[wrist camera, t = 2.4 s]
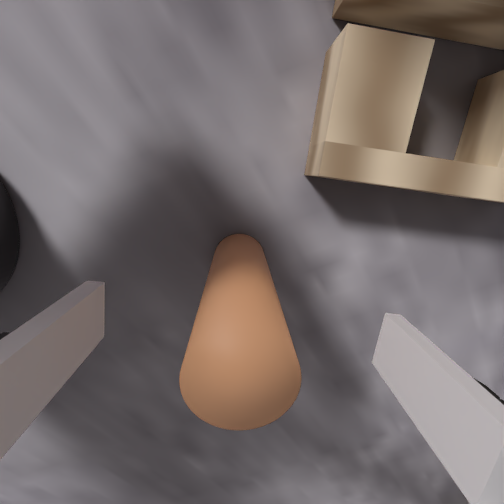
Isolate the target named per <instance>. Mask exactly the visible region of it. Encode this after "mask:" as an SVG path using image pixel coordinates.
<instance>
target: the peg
mask: <svg viewBox="0 0 504 504" xmlns="http://www.w3.org/2000/svg"><path fill="white" fill-rule="evenodd" d="M179 384H180V390H181V394H182V397H183V399H184V401H185V403H186V404H187V406H188V407H189V409H190V410H191V411H192V412H193V413H194V414H195V415H196V416H198V417H199V418H200V419H202V420H203V421H205V422H207V423H209V424H211V425H213V426H216V427H219V428H223V429H228V430H250V429H255V428H259V427H262V426H265V425H267V424H269V423H271V422H273V421H275V420H277V419H278V418H279V417H281V416H282V415H283V414H284V413H285V412H287V411H288V409H289V408H290V407H291V406H292V405H293V403H294V401H295V400H296V398H297V396H298V393H299V390H300V387H301V369H300V365H299V361H298V358H297V355H296V352H295V349H294V346H293V343H292V339H291V336H290V333H289V330H288V327H287V324H286V321H285V317H284V314H283V311H282V308H281V305H280V302H279V299H278V295H277V292H276V289H275V286H274V283H273V280H272V277H271V273H270V270H269V267H268V264H267V261H266V258H265V255H264V251H263V249H262V247H261V245H260V244H259V242H258V241H257V240H256V239H254V238H253V237H251V236H249V235H245V234H233V235H230V236H228V237H226V238H224V239H223V240H222V241H221V242H220V243H219V244H218V246H217V248H216V250H215V253H214V257H213V260H212V263H211V267H210V270H209V274H208V277H207V281H206V284H205V287H204V291H203V294H202V298H201V301H200V305H199V308H198V312H197V315H196V318H195V322H194V325H193V329H192V332H191V336H190V339H189V342H188V346H187V349H186V353H185V356H184V360H183V363H182V366H181V370H180V376H179Z"/></svg>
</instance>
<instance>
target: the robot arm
mask: <svg viewBox="0 0 504 504" xmlns="http://www.w3.org/2000/svg"><path fill="white" fill-rule="evenodd" d="M18 253H19V228H18V222H17V218H16V214H15V211H14V208H13V205H12V202H11V200H10V198H9V195H8V193H7V191H6V189H5V188H4V186H3V184H2V182H1V181H0V291H1V290H2V289H3V287H4V286H5V285H6V283H7V282H8V280H9V279H10V277H11V275H12V273H13V271H14V268H15V265H16V262H17V258H18ZM104 337H105V282H99V281H89V280H87V281H85V282H84V283H82V284H81V285H80V286H78V287H77V288H75V289H74V290H72V291H71V292H69V293H68V294H66V295H65V296H64V297H62V298H61V299H59V300H58V301H56V302H55V303H53V304H52V305H50V306H49V307H47V308H46V309H45V310H43V311H42V312H40V313H39V314H37V315H36V316H34V317H33V318H31V319H30V320H28V321H27V322H26V323H24V324H23V325H21V326H20V327H18V328H17V329H15V330H14V331H12V332H11V333H6V332H4V333H2V334H0V460H1V459H2V457H3V456H4V455H5V454H6V453H7V451H8V450H9V449H10V448H11V447H12V446H13V444H14V443H15V442H16V441H17V440H18V438H19V437H20V436H21V435H22V434H23V433H24V431H25V430H26V429H27V428H28V427H29V425H30V424H31V423H32V422H33V421H34V420H35V418H36V417H37V416H38V415H39V414H40V412H41V411H42V410H43V409H44V408H45V406H46V405H47V404H48V403H49V402H50V401H51V399H52V398H53V397H54V396H55V395H56V393H57V392H58V391H59V390H60V389H61V388H62V386H63V385H64V384H65V383H66V382H67V380H68V379H69V378H70V377H71V376H72V375H73V373H74V372H75V371H76V370H77V369H78V367H79V366H80V365H81V364H82V363H83V361H84V360H85V359H86V358H87V357H88V356H89V354H90V353H91V352H92V351H93V350H94V348H95V347H96V346H97V345H98V344H99V343H100V341H101V340H102V339H103V338H104ZM372 364H373V365H374V366H375V368H376V369H377V371H378V372H379V374H380V375H381V377H382V378H383V379H384V381H385V382H386V384H387V385H388V387H389V388H390V389H391V391H392V392H393V394H394V395H395V397H396V398H397V400H398V401H399V402H400V404H401V405H402V407H403V408H404V410H405V411H406V412H407V414H408V415H409V417H410V418H411V420H412V421H413V423H414V424H415V425H416V427H417V428H418V430H419V431H420V433H421V434H422V435H423V437H424V438H425V440H426V441H427V443H428V444H429V446H430V447H431V448H432V450H433V451H434V453H435V454H436V456H437V457H438V458H439V460H440V461H441V463H442V464H443V466H444V467H445V469H446V470H447V471H448V473H449V474H450V476H451V477H452V479H453V480H454V482H455V483H456V484H457V486H458V487H459V489H460V490H461V492H462V493H463V494H464V496H465V497H466V499H467V500H468V502H469V503H470V504H504V401H503V400H501V399H500V397H499V396H497V395H496V394H495V393H494V392H493V391H492V390H490V389H489V388H488V387H487V386H486V385H484V384H482V383H481V382H479V381H477V380H476V379H474V378H473V377H471V376H470V375H469V374H468V373H467V372H466V371H464V370H463V369H462V368H461V367H460V366H459V365H458V364H456V363H455V362H454V361H453V360H452V359H451V358H450V357H448V356H447V355H446V354H445V353H444V352H443V351H442V350H440V349H439V348H438V347H437V346H436V345H435V344H434V343H432V342H431V341H430V340H429V339H428V338H427V337H426V336H424V335H423V334H422V333H421V332H420V331H419V330H418V329H416V328H415V327H414V326H413V325H412V324H411V323H410V322H409V321H407V320H406V319H405V318H404V317H403V316H402V315H400V314H390V313H385V316H384V320H383V324H382V327H381V331H380V334H379V338H378V342H377V345H376V349H375V353H374V356H373V360H372Z"/></svg>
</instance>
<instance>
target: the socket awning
mask: <svg viewBox="0 0 504 504" xmlns="http://www.w3.org/2000/svg"><path fill="white" fill-rule="evenodd" d="M332 18H335V19H340V20H346V21H351V22H356V23H362V24H367V25H372V26H378V27H383V28H388V29H394V30H399V31H404V32H410V33H415V34H420V35H426V36H431V37H436V38H442V39H447V40H452V41H458V42H463V43H468V44H474V45H479V46H484V47H490V48H495V49H500V50H504V0H335V4H334V10H333V16H332ZM434 42H435V39H430V38H424V37H419V36H414V35H408V34H403V33H398V32H392V31H387V30H382V29H376V28H371V27H366V26H360V25H355V24H350V23H347V25H346V26H345V28H344V29H343V30H342V32H341V33H340V34H339V36H338V37H337V38H336V40H335V41H334V42H333V44H332V45H331V47H330V48H329V49H328V51H327V52H326V55H325V61H324V67H323V72H322V78H321V84H320V89H319V95H318V101H317V106H316V112H315V118H314V123H313V129H312V135H311V140H310V146H309V152H308V157H307V163H306V169H305V174H304V175H308V176H315V177H322V178H329V179H336V180H343V181H350V182H357V183H364V184H371V185H378V186H385V187H392V188H399V189H406V190H414V191H421V192H428V193H435V194H442V195H449V196H456V197H463V198H470V199H477V200H484V201H491V202H498V203H504V70H502V71H499V72H497V73H494V74H492V75H489V76H486V77H484V78H481V79H479V80H478V81H477V85H476V88H475V91H474V95H473V98H472V101H471V105H470V108H469V111H468V114H467V118H466V121H465V124H464V128H463V131H462V134H461V138H460V141H459V144H458V147H457V151H456V154H455V157H454V161H453V160H447V159H440V158H434V157H427V156H420V155H414V154H407V153H406V150H407V146H408V142H409V138H410V134H411V130H412V127H413V123H414V119H415V115H416V111H417V107H418V103H419V100H420V96H421V92H422V88H423V84H424V80H425V77H426V73H427V69H428V65H429V61H430V57H431V53H432V50H433V46H434Z"/></svg>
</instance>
